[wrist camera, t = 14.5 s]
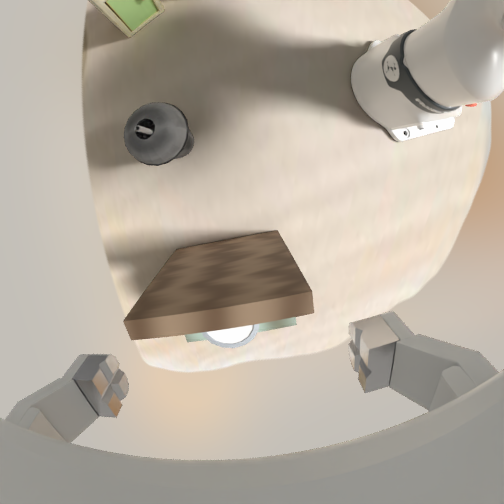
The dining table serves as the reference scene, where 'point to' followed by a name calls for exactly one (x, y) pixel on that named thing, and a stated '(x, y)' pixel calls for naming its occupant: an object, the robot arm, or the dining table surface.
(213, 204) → the dining table surface
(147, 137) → the beverage cup
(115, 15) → the toy refrigerator
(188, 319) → the wall shelf
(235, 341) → the white cup
